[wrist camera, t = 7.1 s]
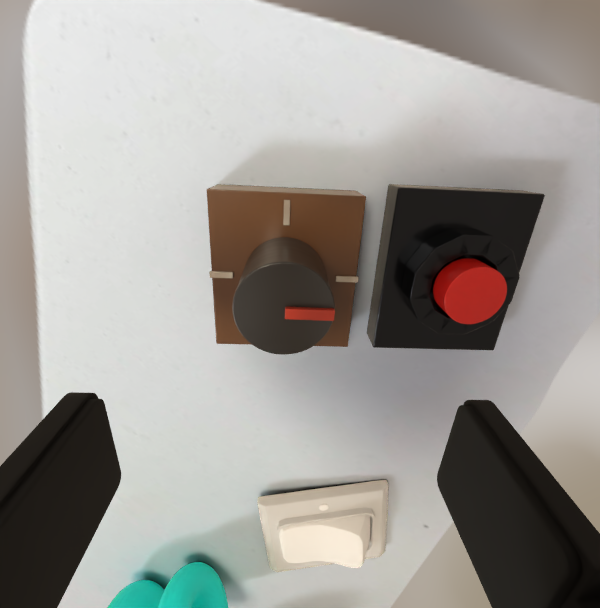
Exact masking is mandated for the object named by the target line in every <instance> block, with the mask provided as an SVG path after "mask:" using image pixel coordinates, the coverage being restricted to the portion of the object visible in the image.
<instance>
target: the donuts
mask: <svg viewBox="0 0 600 608" xmlns="http://www.w3.org/2000/svg"><path fill="white" fill-rule="evenodd" d="M108 608H228V602H227V597H226V593H225V589H224V586H223V584H222V581H221V579H220V578H219V576H218V574H217V573H216V572H215V570H214V569H213V568H212V567H211V566H209V565H207V564H205V563H202V562H193V563H190V564H187V565H185V566H184V567H182V568H181V569H180V570H179V571H178V572H177V573H176V574H175V575H174V576H173V577H172V578H171V580H170V581H169V583H168V585H167V587H166V588H165V590H164V589H163V588H162V587H161V586H160V585H159V584H158V583H156V582H154V581H151V580H139V581H136V582H133V583H131V584H129V585H128V586H126V587H125V588H124V589H122V590H121V591H120V592H119V593H118V594H117V595H116V597H115V598H114V599H113V600H112V602H111V603H110V605H109V606H108Z"/></svg>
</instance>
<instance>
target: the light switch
mask: <svg viewBox="0 0 600 608" xmlns="http://www.w3.org/2000/svg"><path fill="white" fill-rule="evenodd" d="M388 486H389V485H388V482H387V480H378V481H370V482H363V483H356V484H349V485H341V486H334V487H327V488H319V489H312V490H305V491H298V492H290V493H283V494H276V495H268V496H261V497H258V502H257V503H258V509H259V514H260V519H261V524H262V530H263V535H264V540H265V545H266V551H267V556H268V561H269V566H270V568H271V569H272V570H274V571H276V572H282V571H289V570H295V569H302V568H309V567H315V566H322V565H329V564H335V563H336V564H340V565H343V566H347V567H350V568H360V567H361V565H362V564H363V563H364V560H365V559H369V558H375V557H380V556H381V555H382V554H383V553H384V552H385V546H386V526H387V506H388ZM370 519H371V537H370Z"/></svg>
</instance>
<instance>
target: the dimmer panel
mask: <svg viewBox="0 0 600 608" xmlns="http://www.w3.org/2000/svg"><path fill="white" fill-rule="evenodd" d="M207 201H208V217H209V233H210V248H211V264H212V271H210V278H212V280H213V296H214V312H215V327H216V343H217V344H251V343H250V342H248V341H247V340H246V339H245V338H244V337H243V335H242V334H241V333H240V331H239V330H238V328H237V326H236V323H235V321H234V317H233V311H232V305H233V298H234V295H235V292H236V289H237V286H238V284H239V281H240V278H241V276H242V273H243V270H244V268H245V265H246V263H247V260H248V258H249V256H250V255H251V253H252V252H253V251H254V250H255V249H256V248H257V247H258V246H259V245H261V244H262V243H264V242H266V241H268V240H271V239H274V238H280V237H289V238H294V239H298V240H301V241H303V242H305V243H307V244H308V245H309V246H311V247H312V248H313V249H314V250H315V251H316V252H317V253H318V255H319V256H320V258H321V260H322V262H323V265H324V268H325V272H326V275H327V278H328V281H329V284H330V288H331V291H332V294H333V298H334V303H335V316H334V321H333V322H332V325H331V327H330V329H329V330H328V332H327V333H326V335H325V336H324V337H323V338H322V339H321V340H320V341H319V342H318V343H317V344H315V345H314V346H340V347H347V346H348V341H349V333H350V324H351V316H352V308H353V300H354V292H355V284H356V282H358V278H359V277H358V276H356V275H357V267H358V259H359V251H360V243H361V235H362V226H363V218H364V210H365V202H366V196H364V195H362V194H361V193H359V192H357V191H350V190H328V189H307V188H286V187H264V186H243V185H221V184H217V185H215V186H213V187H211V188H209V189H207Z"/></svg>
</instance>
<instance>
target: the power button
mask: <svg viewBox="0 0 600 608" xmlns="http://www.w3.org/2000/svg"><path fill="white" fill-rule="evenodd" d="M506 294H507V284H506V281H505V279H504V277H503V276H502V274H501V273H500V272H498V271H497V270H495V269H494V268H492V267H490V266H488V265H487V264H485V263H483V262H481V261H479V260H477V259H473V258H463V259H459V260H456V261H453V262H451V263H450V264H448V265H447V266H445V267H444V268H443V269H442V270H441V271H440V273H439V274H438V276H437V277H436V279H435V282H434V285H433V296H434V299H435V301H436V303H437V304H438V305H439V306H440V307H441V308H442V309H443V310H444V311H445V312H446V313H447V314H448V315H449V316H450V318H452V319H453V320H454V321H456V322H459V323H462V324H475V323H479V322H482V321H484V320H487V319H488V318H490V317H491V316H493V315H494V314H495V313H496V312H497V311H498V310H499V309H500V307H501V306H502V304H503V303H504V301H505V298H506Z"/></svg>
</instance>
